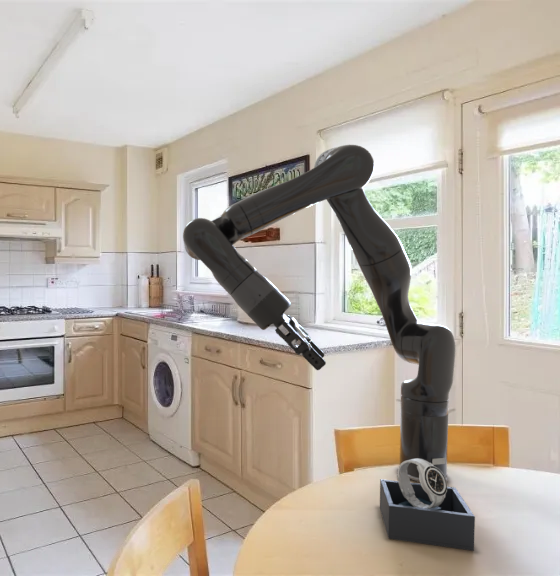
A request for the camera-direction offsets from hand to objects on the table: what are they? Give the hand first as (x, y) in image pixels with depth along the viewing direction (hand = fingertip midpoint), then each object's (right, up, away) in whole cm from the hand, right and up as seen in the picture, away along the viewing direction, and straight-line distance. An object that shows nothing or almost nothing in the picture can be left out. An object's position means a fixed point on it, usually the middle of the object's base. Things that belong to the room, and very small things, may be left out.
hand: (321, 362), depth 89 cm
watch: (+15, -27, -6) cm, 32 cm away
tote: (+16, -28, -6) cm, 32 cm away
